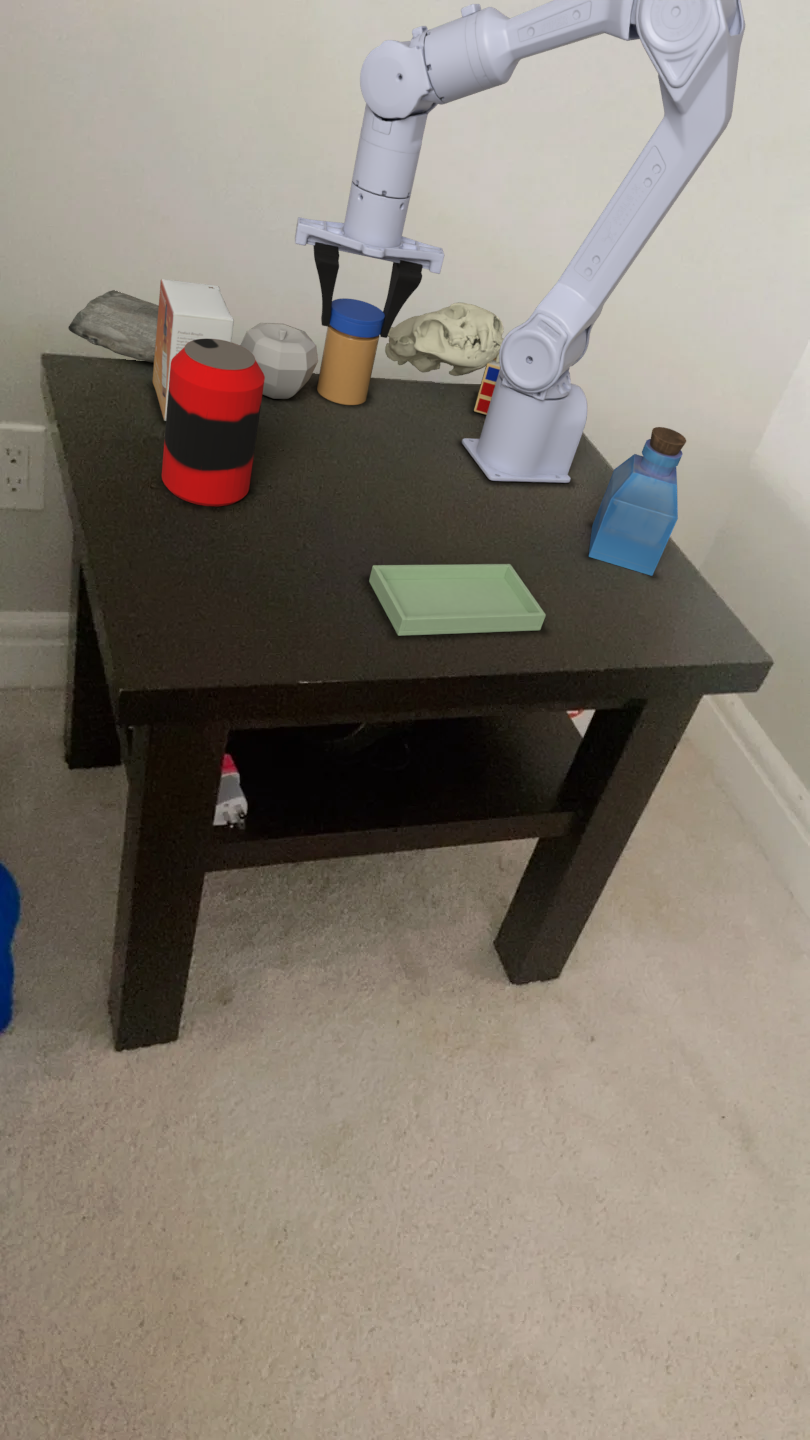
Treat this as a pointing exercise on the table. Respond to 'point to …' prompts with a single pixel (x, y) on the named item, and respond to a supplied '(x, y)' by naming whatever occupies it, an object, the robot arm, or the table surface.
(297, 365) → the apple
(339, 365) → the jar
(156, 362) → the small box
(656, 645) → the table surface
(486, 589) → the tray
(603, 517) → the perfume bottle
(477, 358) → the animal skull
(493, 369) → the rubik's cube
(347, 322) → the lid
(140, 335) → the stone
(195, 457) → the soda can
